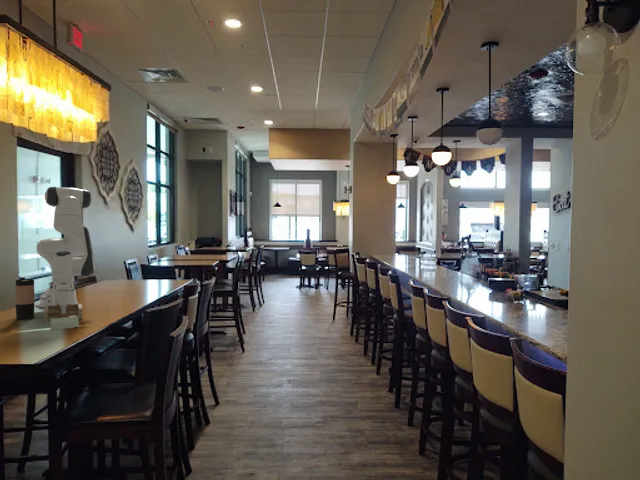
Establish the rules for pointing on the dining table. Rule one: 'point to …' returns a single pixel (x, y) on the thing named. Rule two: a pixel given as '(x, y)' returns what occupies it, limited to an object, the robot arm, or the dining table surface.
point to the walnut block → (61, 313)
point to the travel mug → (25, 299)
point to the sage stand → (64, 323)
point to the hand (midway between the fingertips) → (63, 312)
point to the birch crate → (52, 312)
